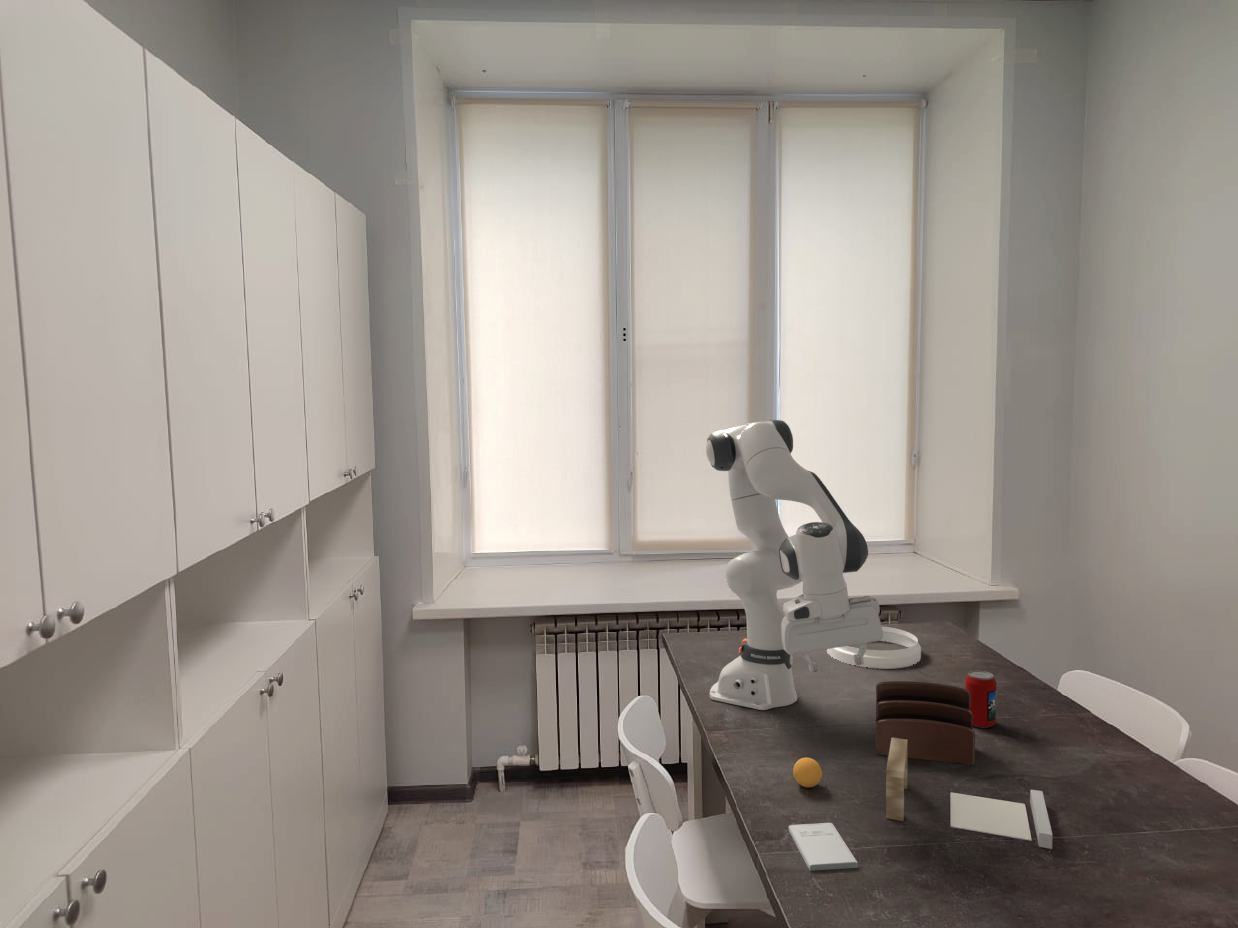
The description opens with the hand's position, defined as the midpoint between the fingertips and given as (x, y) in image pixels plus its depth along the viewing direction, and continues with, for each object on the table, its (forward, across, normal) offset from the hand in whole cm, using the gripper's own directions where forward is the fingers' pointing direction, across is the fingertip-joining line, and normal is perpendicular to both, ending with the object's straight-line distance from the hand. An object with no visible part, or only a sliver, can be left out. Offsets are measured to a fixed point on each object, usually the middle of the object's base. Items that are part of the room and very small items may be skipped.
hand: (836, 667), depth 162 cm
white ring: (+28, -26, -75) cm, 84 cm away
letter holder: (+26, -18, -10) cm, 33 cm away
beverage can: (+28, -36, -23) cm, 51 cm away
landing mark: (+25, -20, +18) cm, 37 cm away
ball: (+18, +10, +6) cm, 22 cm away
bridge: (+23, -5, +12) cm, 27 cm away
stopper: (+26, -28, +21) cm, 44 cm away
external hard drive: (+21, +13, +28) cm, 37 cm away
